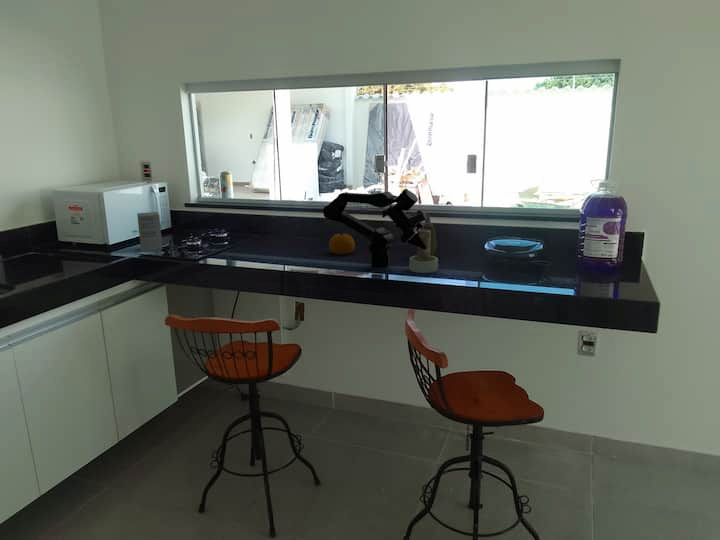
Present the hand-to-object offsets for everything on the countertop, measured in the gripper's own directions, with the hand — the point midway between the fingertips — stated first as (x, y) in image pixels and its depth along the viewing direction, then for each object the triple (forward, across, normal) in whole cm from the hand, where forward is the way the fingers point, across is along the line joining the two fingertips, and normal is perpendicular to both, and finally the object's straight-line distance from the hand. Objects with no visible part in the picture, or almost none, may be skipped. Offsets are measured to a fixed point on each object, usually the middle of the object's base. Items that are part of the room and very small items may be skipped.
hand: (427, 247), depth 216 cm
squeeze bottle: (+3, +26, +10) cm, 28 cm away
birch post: (+4, 0, +6) cm, 7 cm away
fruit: (-23, +19, +37) cm, 48 cm away
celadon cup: (+5, 0, +7) cm, 9 cm away
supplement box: (-86, +4, +100) cm, 133 cm away
